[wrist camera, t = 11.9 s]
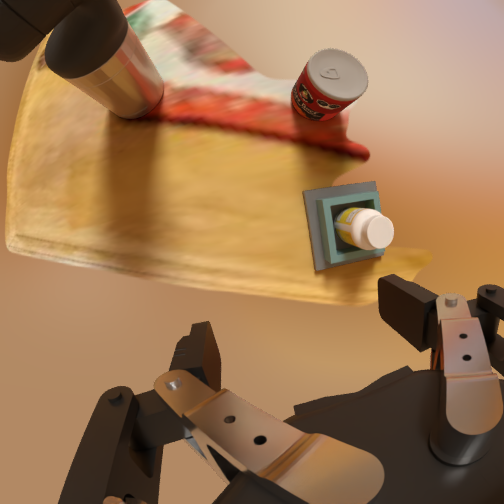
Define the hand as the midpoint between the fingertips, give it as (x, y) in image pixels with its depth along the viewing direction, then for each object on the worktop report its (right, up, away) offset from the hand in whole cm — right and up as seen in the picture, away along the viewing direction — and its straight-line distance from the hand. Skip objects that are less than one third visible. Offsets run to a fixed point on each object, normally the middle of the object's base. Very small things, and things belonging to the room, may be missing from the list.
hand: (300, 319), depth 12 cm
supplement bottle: (+12, +7, +28) cm, 32 cm away
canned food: (+8, +26, +25) cm, 37 cm away
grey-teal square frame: (+12, +7, +29) cm, 32 cm away
